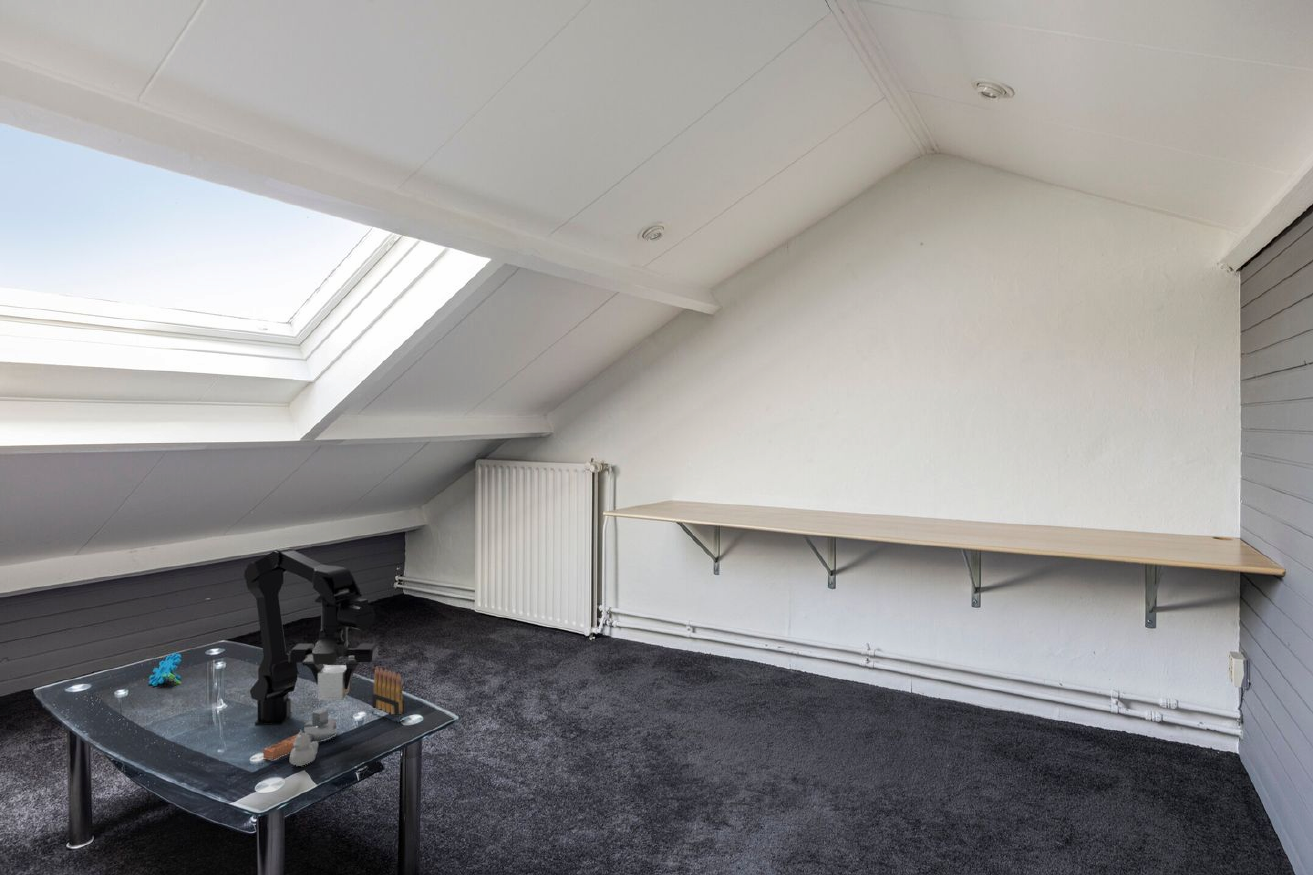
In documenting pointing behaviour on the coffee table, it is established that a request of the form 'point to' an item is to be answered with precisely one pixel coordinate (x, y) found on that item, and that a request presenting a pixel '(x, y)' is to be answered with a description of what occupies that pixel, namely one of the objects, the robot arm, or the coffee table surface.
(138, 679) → the coffee table surface
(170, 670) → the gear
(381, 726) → the coffee table surface
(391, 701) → the ammunition clip
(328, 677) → the small white cube
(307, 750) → the rubber duck
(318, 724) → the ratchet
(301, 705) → the coffee table surface
